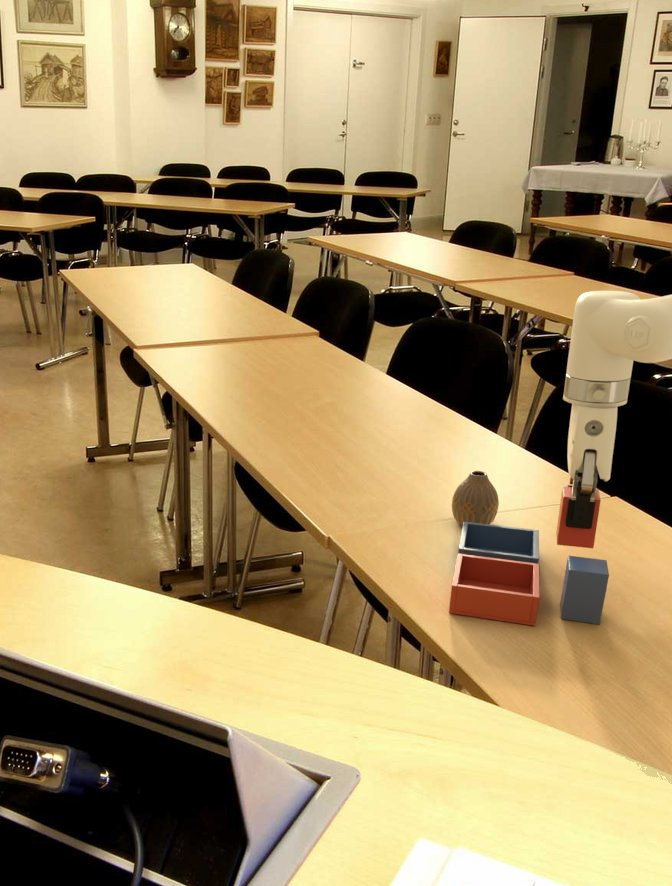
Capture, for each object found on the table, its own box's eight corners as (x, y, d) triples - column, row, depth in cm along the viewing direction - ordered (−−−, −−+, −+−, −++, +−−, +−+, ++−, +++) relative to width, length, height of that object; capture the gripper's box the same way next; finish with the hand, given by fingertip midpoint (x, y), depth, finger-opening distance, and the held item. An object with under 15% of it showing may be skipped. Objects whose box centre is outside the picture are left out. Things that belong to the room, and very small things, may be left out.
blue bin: (535, 555, 134) (538, 530, 132) (535, 585, 125) (539, 558, 123) (460, 545, 137) (463, 521, 136) (455, 574, 128) (458, 548, 127)
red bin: (535, 590, 123) (539, 563, 122) (535, 626, 114) (539, 597, 113) (454, 579, 127) (457, 553, 125) (448, 613, 118) (451, 585, 116)
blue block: (597, 608, 118) (606, 560, 115) (599, 624, 114) (609, 574, 112) (560, 603, 120) (568, 555, 117) (560, 619, 116) (569, 569, 113)
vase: (458, 513, 149) (463, 462, 145) (501, 522, 145) (508, 470, 141) (443, 527, 144) (449, 476, 140) (488, 537, 140) (494, 484, 136)
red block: (591, 536, 126) (598, 489, 124) (593, 548, 122) (600, 500, 120) (556, 532, 128) (562, 486, 125) (556, 544, 124) (563, 496, 122)
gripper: (634, 407, 109) (612, 546, 115) (622, 376, 124) (603, 502, 130) (566, 403, 112) (548, 540, 118) (562, 374, 126) (546, 497, 133)
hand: (577, 519), depth 124 cm, fingers closed on red block, 4 cm apart
